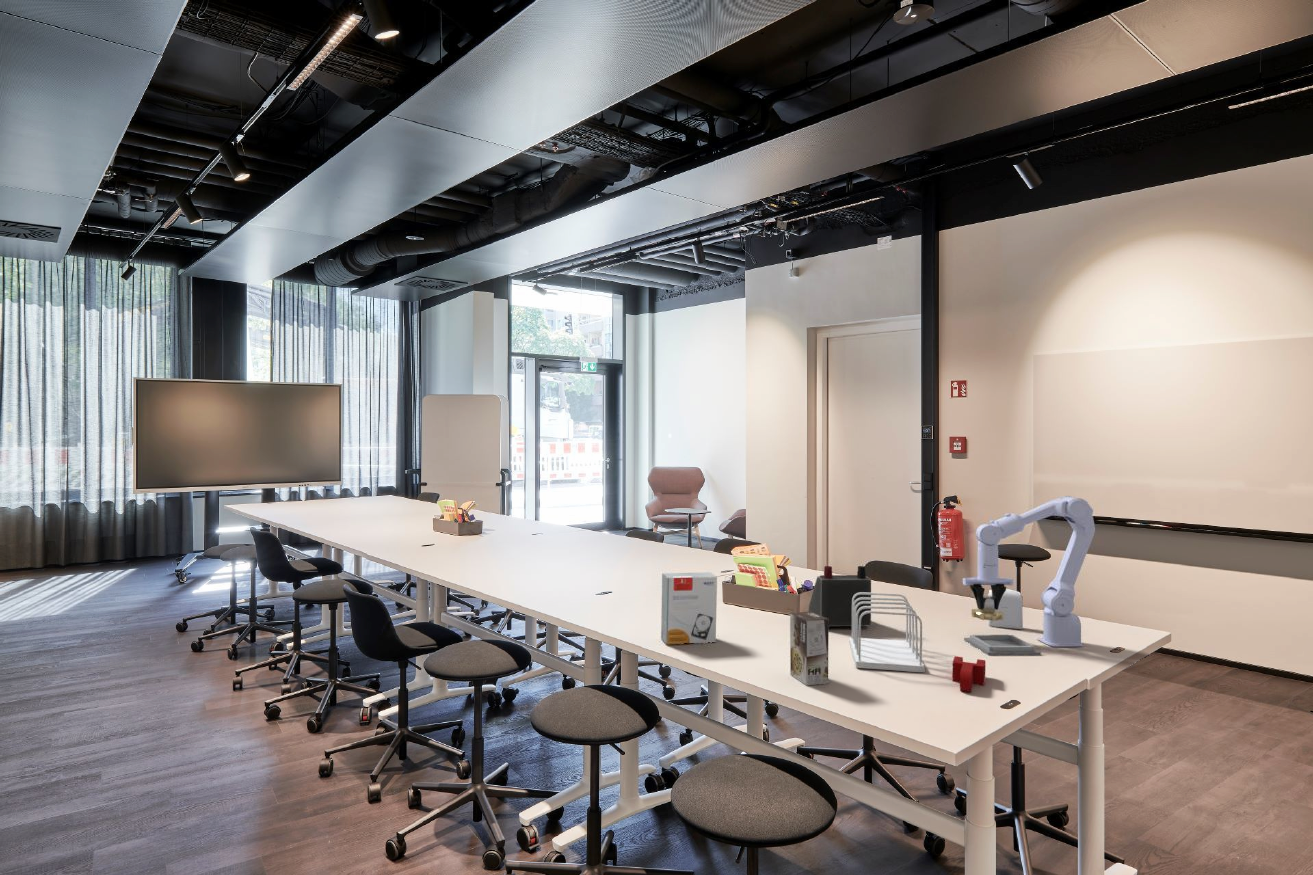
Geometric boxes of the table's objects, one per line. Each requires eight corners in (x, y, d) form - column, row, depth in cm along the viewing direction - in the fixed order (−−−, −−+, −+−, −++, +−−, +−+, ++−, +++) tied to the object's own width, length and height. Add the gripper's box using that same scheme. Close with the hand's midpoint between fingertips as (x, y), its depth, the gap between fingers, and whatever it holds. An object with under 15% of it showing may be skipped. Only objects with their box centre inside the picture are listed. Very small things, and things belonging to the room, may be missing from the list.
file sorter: (925, 673, 188) (925, 613, 188) (855, 669, 192) (856, 610, 192) (909, 646, 213) (910, 593, 213) (848, 643, 216) (849, 591, 216)
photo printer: (987, 626, 236) (987, 588, 236) (987, 623, 240) (987, 586, 240) (1022, 630, 231) (1022, 591, 231) (1022, 627, 235) (1022, 589, 235)
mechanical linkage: (955, 672, 189) (955, 653, 189) (985, 677, 186) (985, 657, 186) (949, 691, 175) (949, 671, 175) (981, 696, 172) (981, 675, 172)
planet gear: (995, 612, 225) (995, 593, 225) (1009, 620, 216) (1009, 600, 216) (966, 612, 225) (966, 593, 225) (979, 620, 216) (979, 600, 216)
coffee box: (829, 683, 180) (829, 618, 180) (806, 686, 178) (806, 620, 178) (811, 672, 189) (811, 610, 189) (789, 674, 187) (789, 611, 187)
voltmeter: (855, 617, 247) (855, 558, 247) (871, 630, 231) (871, 567, 231) (808, 617, 247) (808, 558, 247) (820, 630, 230) (821, 567, 231)
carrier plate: (1013, 640, 220) (1013, 633, 220) (1040, 655, 205) (1040, 647, 205) (964, 640, 219) (964, 633, 219) (988, 655, 204) (988, 648, 204)
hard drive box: (666, 645, 212) (666, 577, 212) (660, 638, 220) (660, 572, 220) (717, 643, 215) (717, 575, 215) (709, 636, 223) (710, 571, 223)
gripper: (1005, 561, 224) (1004, 605, 224) (958, 561, 224) (958, 605, 224) (1016, 565, 217) (1016, 611, 217) (968, 565, 217) (968, 611, 217)
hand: (987, 608), depth 220 cm, fingers closed on planet gear, 4 cm apart
